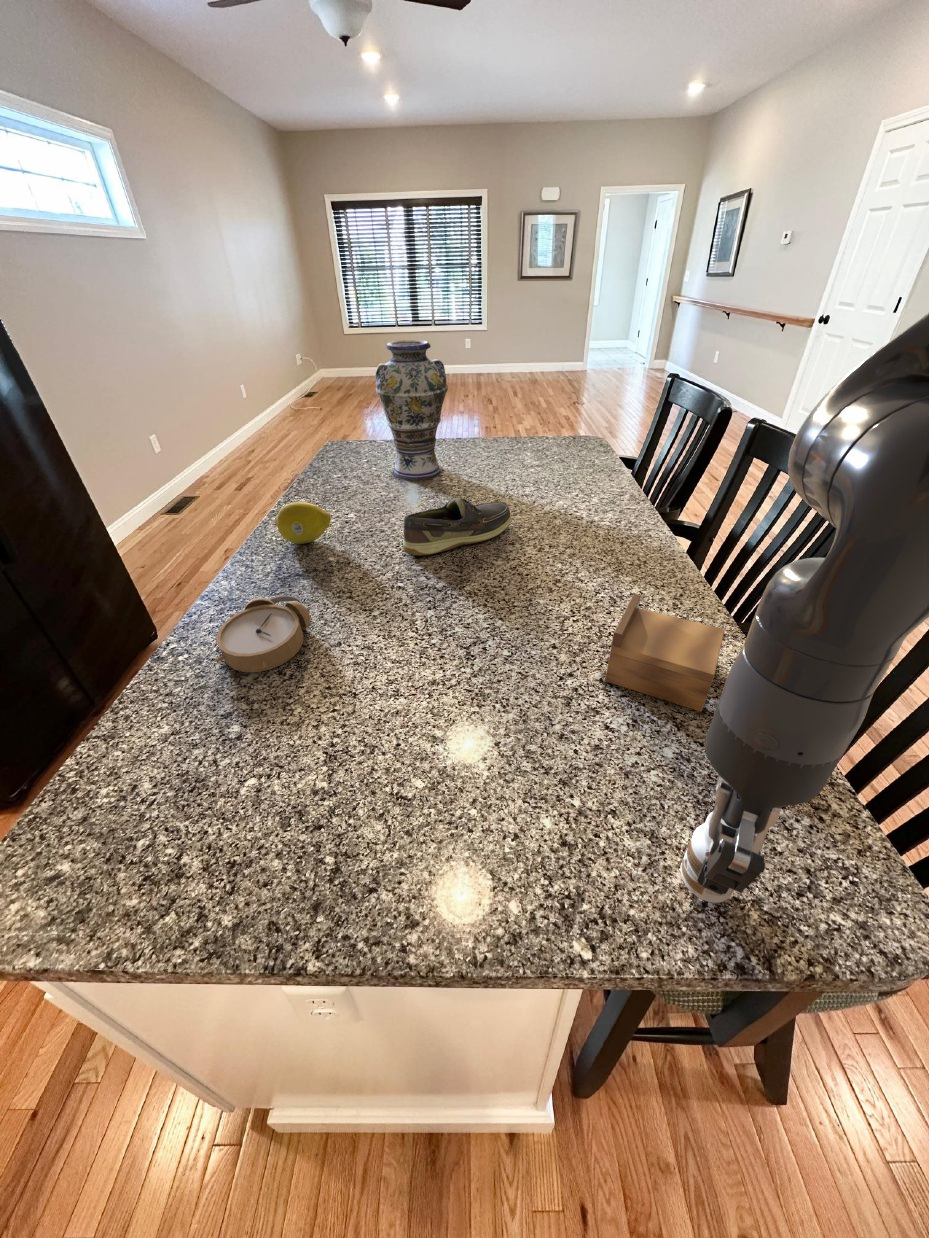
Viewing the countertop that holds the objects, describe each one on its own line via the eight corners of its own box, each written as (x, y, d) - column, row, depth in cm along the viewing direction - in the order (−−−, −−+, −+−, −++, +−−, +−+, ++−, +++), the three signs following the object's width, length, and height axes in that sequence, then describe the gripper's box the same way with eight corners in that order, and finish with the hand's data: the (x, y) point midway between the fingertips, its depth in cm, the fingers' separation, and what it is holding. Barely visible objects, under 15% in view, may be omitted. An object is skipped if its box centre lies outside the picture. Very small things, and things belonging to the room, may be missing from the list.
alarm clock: (198, 652, 69) (251, 580, 79) (212, 675, 72) (262, 603, 83) (274, 662, 67) (319, 586, 77) (285, 685, 70) (327, 610, 81)
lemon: (271, 548, 100) (261, 509, 95) (290, 531, 106) (282, 494, 102) (323, 552, 98) (316, 513, 93) (339, 534, 104) (333, 497, 100)
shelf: (712, 664, 70) (729, 616, 65) (701, 712, 63) (719, 661, 58) (624, 639, 74) (633, 593, 70) (604, 681, 67) (613, 632, 63)
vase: (457, 479, 129) (453, 345, 112) (388, 486, 126) (374, 349, 109) (444, 459, 142) (439, 336, 125) (381, 464, 139) (368, 340, 122)
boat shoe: (522, 528, 106) (524, 490, 101) (423, 567, 93) (420, 526, 88) (492, 514, 111) (493, 478, 107) (395, 550, 99) (391, 510, 94)
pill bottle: (673, 854, 47) (692, 803, 43) (721, 855, 47) (746, 804, 42) (688, 903, 44) (711, 853, 39) (741, 905, 43) (770, 854, 39)
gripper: (857, 827, 27) (758, 966, 37) (844, 668, 37) (769, 810, 47) (705, 773, 30) (651, 915, 40) (731, 640, 40) (683, 779, 50)
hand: (715, 857), depth 43 cm, fingers closed on pill bottle, 4 cm apart
